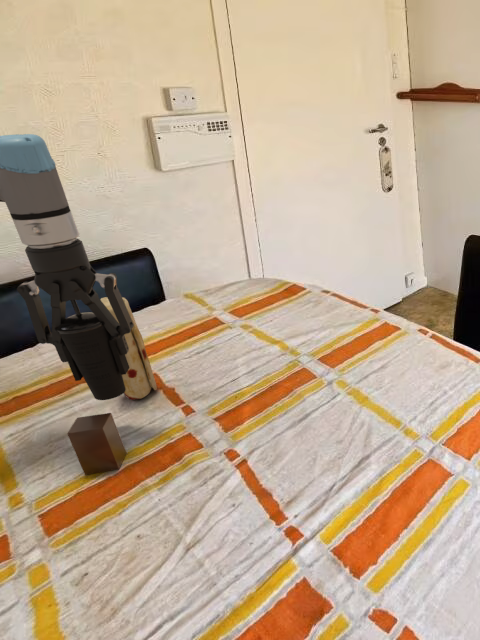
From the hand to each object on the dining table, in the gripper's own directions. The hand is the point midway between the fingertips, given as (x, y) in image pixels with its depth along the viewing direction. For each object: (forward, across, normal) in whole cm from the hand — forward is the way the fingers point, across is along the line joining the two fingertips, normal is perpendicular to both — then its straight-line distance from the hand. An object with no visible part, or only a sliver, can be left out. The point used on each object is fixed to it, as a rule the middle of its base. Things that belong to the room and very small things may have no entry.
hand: (102, 373), depth 107 cm
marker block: (+11, 0, -11) cm, 16 cm away
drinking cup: (+4, 0, 0) cm, 4 cm away
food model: (+11, 0, +14) cm, 18 cm away
